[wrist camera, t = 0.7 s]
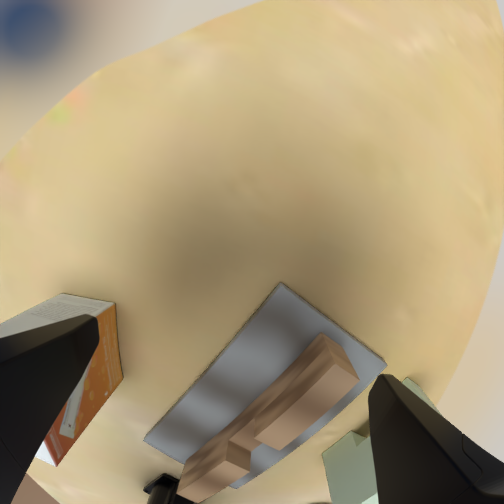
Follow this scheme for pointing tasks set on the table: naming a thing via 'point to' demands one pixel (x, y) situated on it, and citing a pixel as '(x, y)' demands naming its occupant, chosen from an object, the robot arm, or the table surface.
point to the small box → (94, 378)
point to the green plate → (357, 464)
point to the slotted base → (254, 376)
